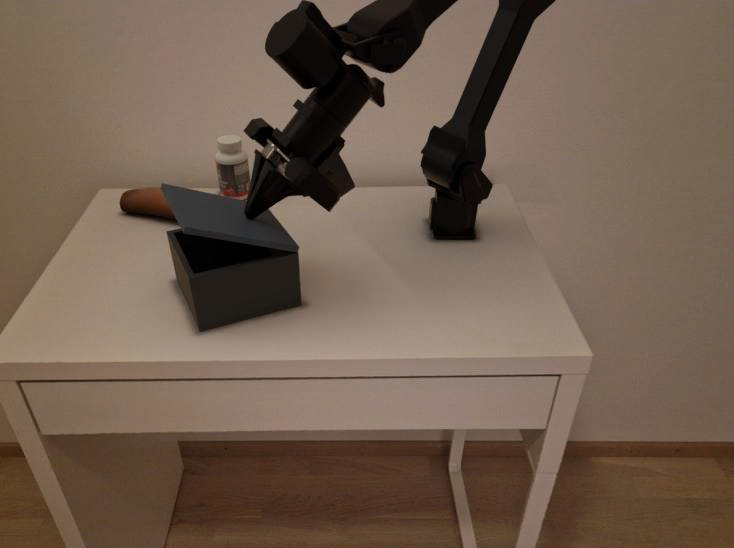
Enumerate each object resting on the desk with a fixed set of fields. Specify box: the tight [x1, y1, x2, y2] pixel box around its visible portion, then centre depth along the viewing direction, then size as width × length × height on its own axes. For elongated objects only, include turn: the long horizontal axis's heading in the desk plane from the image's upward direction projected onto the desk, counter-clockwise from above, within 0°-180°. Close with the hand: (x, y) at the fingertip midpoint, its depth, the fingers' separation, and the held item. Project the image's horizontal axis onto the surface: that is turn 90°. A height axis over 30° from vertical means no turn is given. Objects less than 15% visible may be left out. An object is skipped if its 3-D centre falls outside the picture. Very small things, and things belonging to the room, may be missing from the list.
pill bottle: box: [214, 134, 251, 201], centre depth 100 cm, size 5×5×10 cm
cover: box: [160, 182, 300, 253], centre depth 73 cm, size 14×13×1 cm
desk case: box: [165, 227, 303, 333], centre depth 77 cm, size 14×13×8 cm
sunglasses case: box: [119, 187, 176, 220], centre depth 97 cm, size 18×7×7 cm, turn 69°
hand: (247, 217), depth 74 cm, fingers closed, pressing on cover
